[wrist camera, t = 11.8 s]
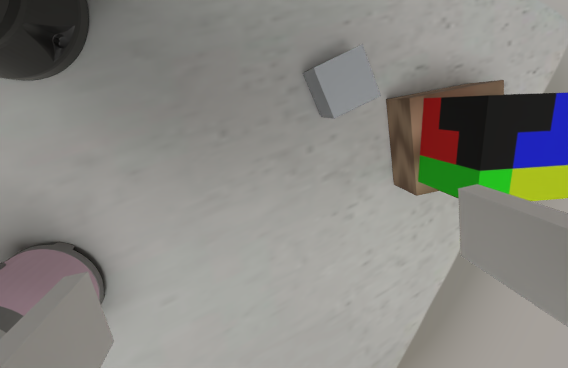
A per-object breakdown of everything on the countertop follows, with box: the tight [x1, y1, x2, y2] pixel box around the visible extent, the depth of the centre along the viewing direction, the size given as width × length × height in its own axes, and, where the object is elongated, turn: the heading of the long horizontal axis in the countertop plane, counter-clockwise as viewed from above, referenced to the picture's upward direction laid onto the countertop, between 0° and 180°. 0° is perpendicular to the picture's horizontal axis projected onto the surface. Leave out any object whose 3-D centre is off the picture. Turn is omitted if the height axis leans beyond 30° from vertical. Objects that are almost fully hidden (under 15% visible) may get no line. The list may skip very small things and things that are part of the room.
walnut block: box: [386, 80, 504, 196], centre depth 42 cm, size 12×12×6 cm
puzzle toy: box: [418, 93, 568, 201], centre depth 34 cm, size 10×10×10 cm
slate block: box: [303, 44, 381, 118], centre depth 39 cm, size 6×6×6 cm
